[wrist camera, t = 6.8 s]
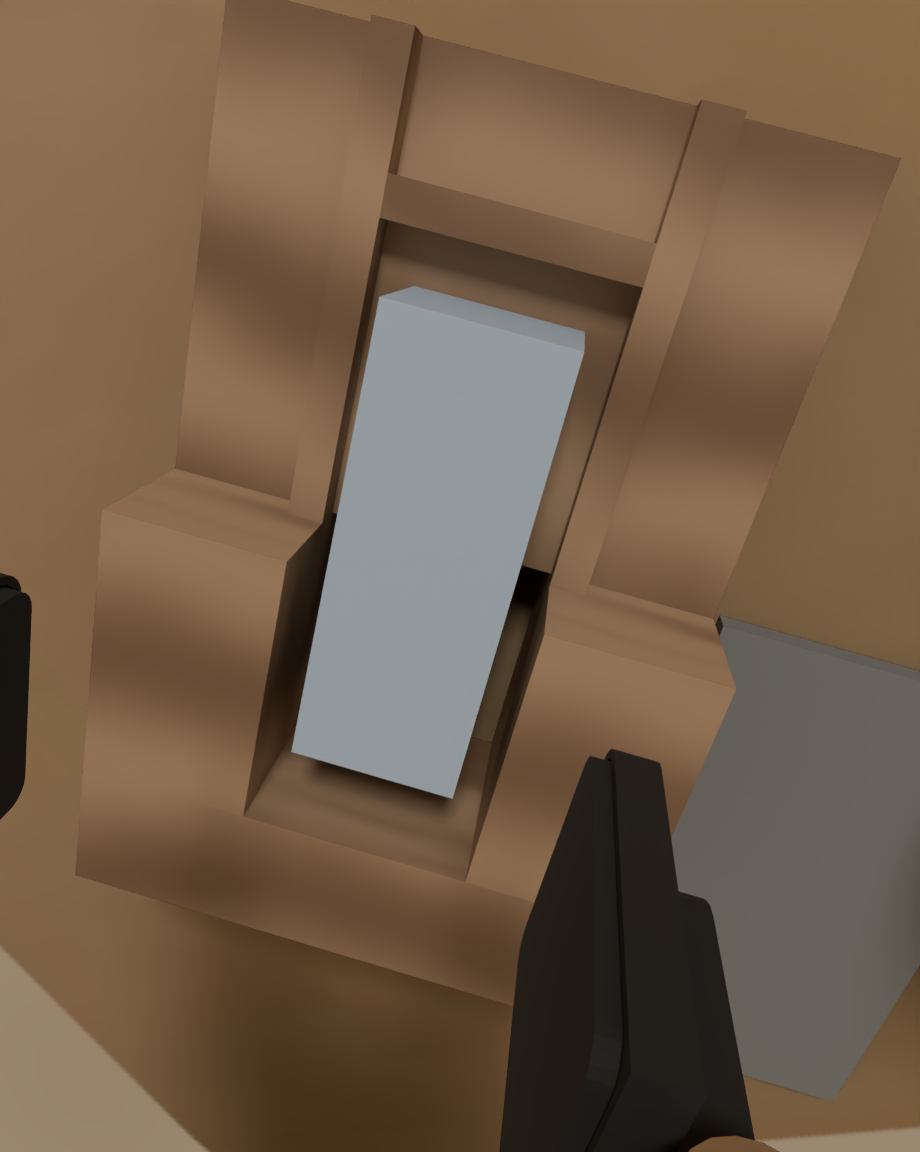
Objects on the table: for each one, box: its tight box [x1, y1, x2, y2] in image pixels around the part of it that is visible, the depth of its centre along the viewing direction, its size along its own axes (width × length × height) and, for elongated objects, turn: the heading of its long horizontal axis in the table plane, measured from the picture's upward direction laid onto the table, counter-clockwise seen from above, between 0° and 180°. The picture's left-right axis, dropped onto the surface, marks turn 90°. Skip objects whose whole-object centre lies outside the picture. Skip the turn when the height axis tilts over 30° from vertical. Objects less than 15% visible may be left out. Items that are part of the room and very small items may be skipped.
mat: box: [671, 616, 920, 1102], centre depth 30 cm, size 11×18×1 cm, turn 166°
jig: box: [75, 0, 901, 1006], centre depth 24 cm, size 24×16×7 cm, turn 166°
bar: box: [291, 286, 585, 799], centre depth 22 cm, size 12×4×4 cm, turn 166°
